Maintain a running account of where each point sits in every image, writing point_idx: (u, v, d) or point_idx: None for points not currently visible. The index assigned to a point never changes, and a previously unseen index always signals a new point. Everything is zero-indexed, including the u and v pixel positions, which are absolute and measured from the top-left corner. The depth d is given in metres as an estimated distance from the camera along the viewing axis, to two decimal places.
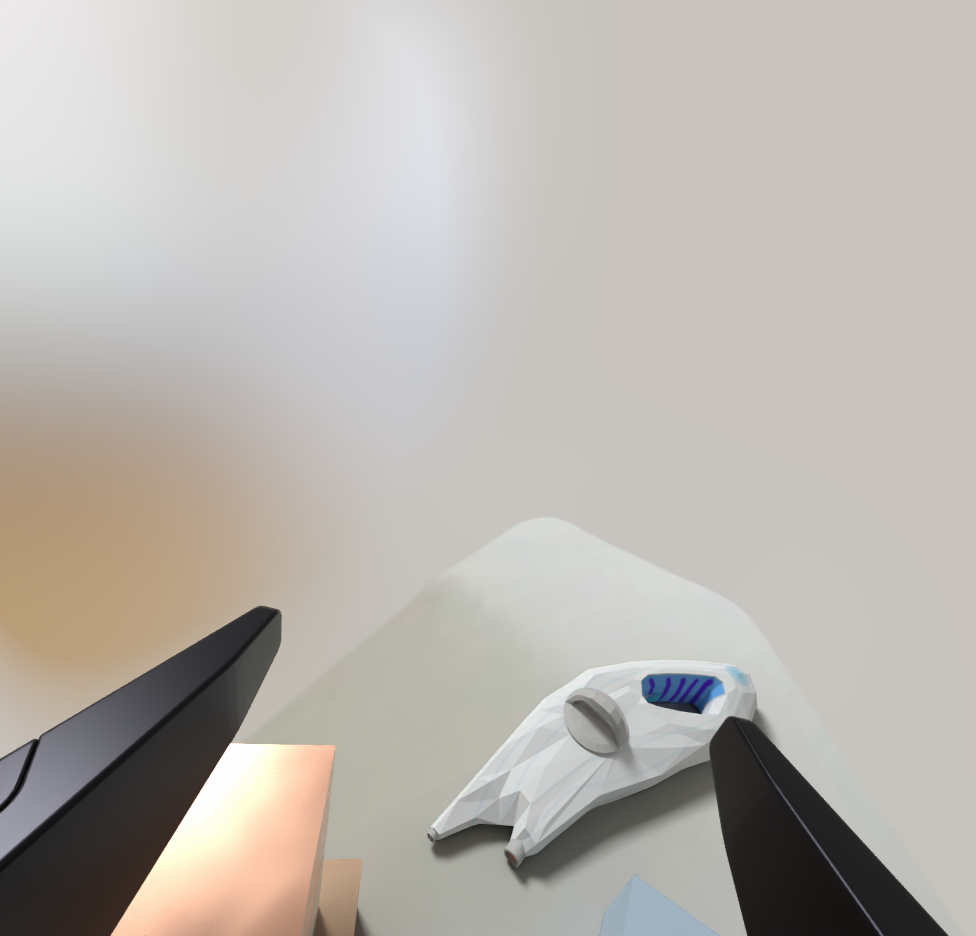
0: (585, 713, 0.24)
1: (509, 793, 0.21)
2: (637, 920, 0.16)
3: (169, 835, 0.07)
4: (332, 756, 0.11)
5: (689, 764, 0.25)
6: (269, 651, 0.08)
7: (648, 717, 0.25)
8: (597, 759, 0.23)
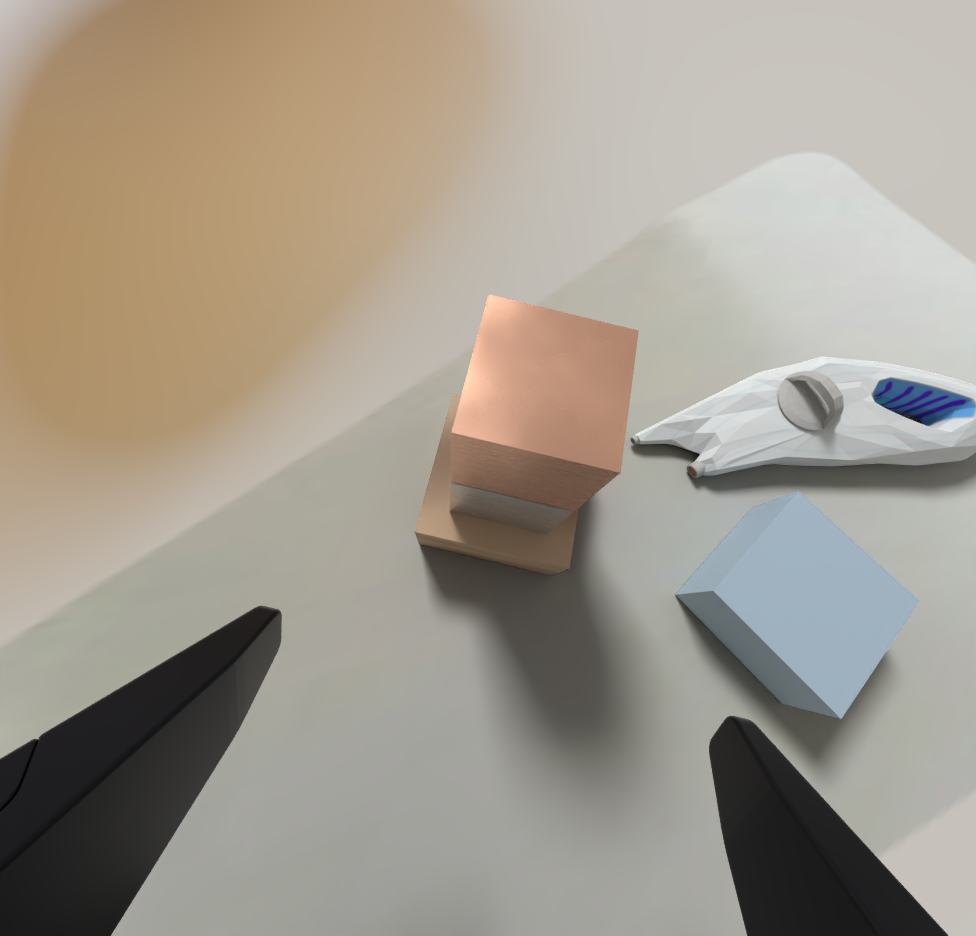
0: (802, 393, 0.25)
1: (704, 432, 0.25)
2: (789, 514, 0.21)
3: (169, 835, 0.07)
4: (636, 337, 0.13)
5: (885, 461, 0.26)
6: (269, 651, 0.08)
7: (867, 414, 0.25)
8: (796, 431, 0.25)
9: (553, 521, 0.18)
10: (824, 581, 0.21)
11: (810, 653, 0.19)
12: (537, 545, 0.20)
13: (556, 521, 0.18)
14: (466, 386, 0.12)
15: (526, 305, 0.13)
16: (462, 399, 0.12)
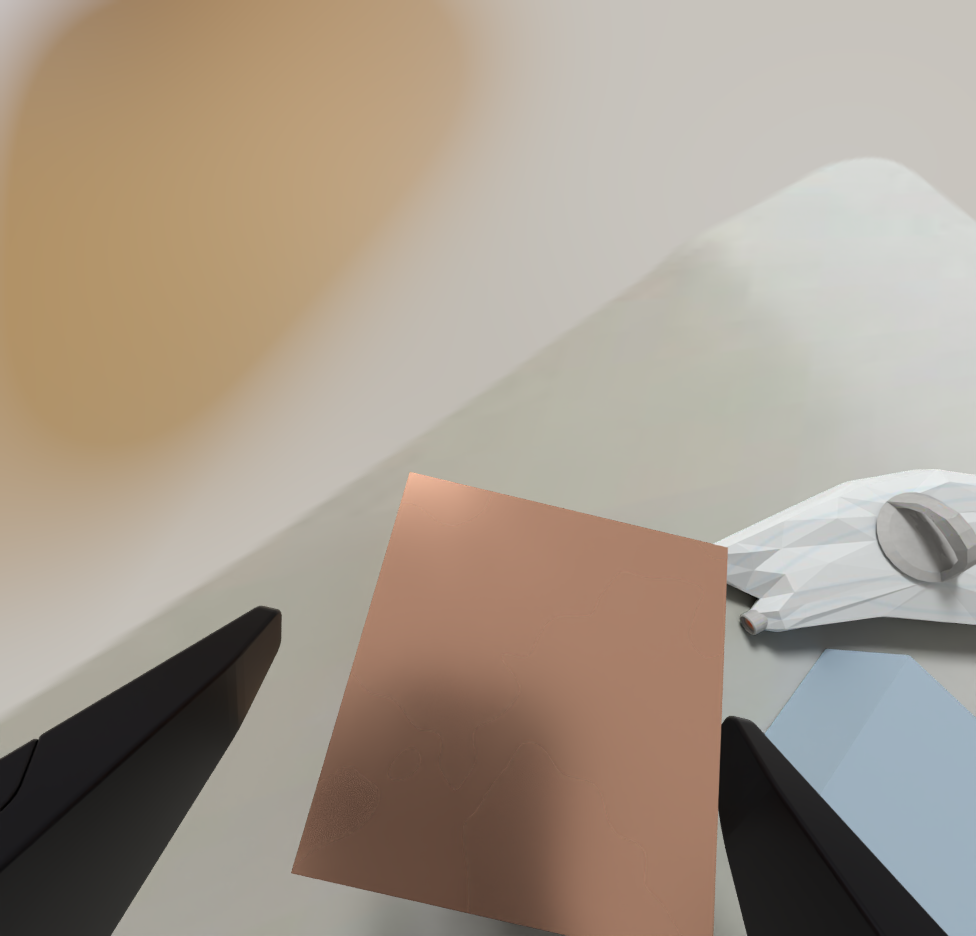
0: (913, 526, 0.17)
1: (769, 571, 0.18)
2: (899, 695, 0.15)
3: (169, 835, 0.07)
4: (724, 564, 0.06)
5: None
6: (269, 651, 0.08)
7: None
8: (902, 581, 0.17)
9: None
10: (960, 807, 0.14)
11: None
12: None
13: None
14: (340, 725, 0.05)
15: (490, 493, 0.06)
16: (328, 763, 0.05)
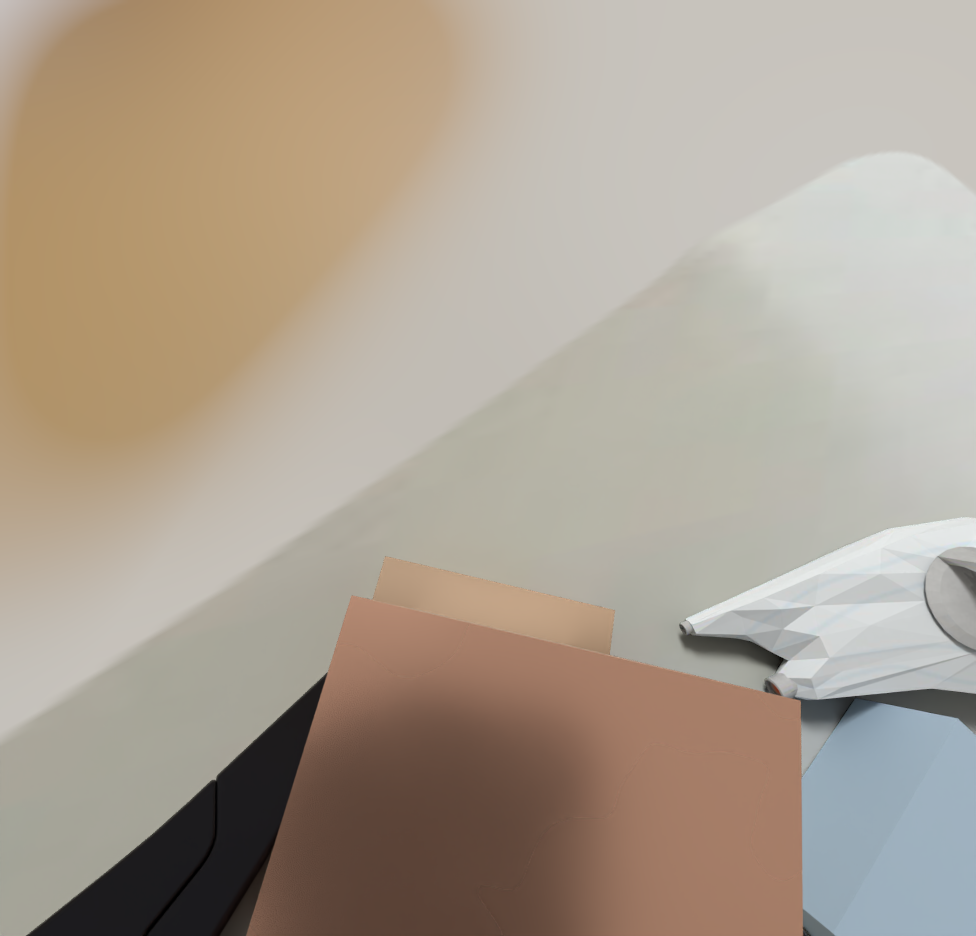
0: (968, 587, 0.15)
1: (801, 631, 0.16)
2: (948, 766, 0.13)
3: None
4: (796, 726, 0.04)
5: None
6: None
7: None
8: (953, 649, 0.15)
9: None
10: None
11: None
12: None
13: None
14: None
15: (466, 622, 0.04)
16: None
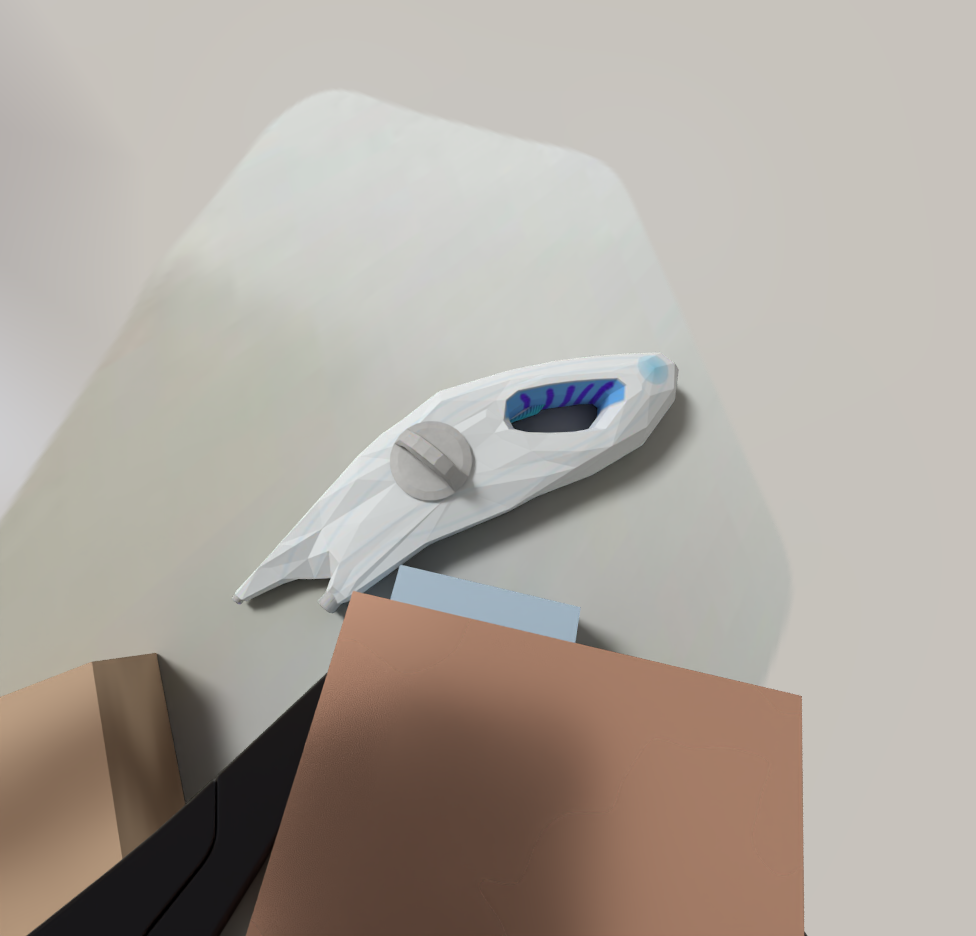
0: (415, 457, 0.19)
1: (318, 554, 0.19)
2: None
3: None
4: (797, 721, 0.04)
5: (555, 487, 0.21)
6: None
7: (505, 447, 0.20)
8: (426, 506, 0.19)
9: None
10: None
11: None
12: (66, 901, 0.13)
13: None
14: None
15: None
16: None
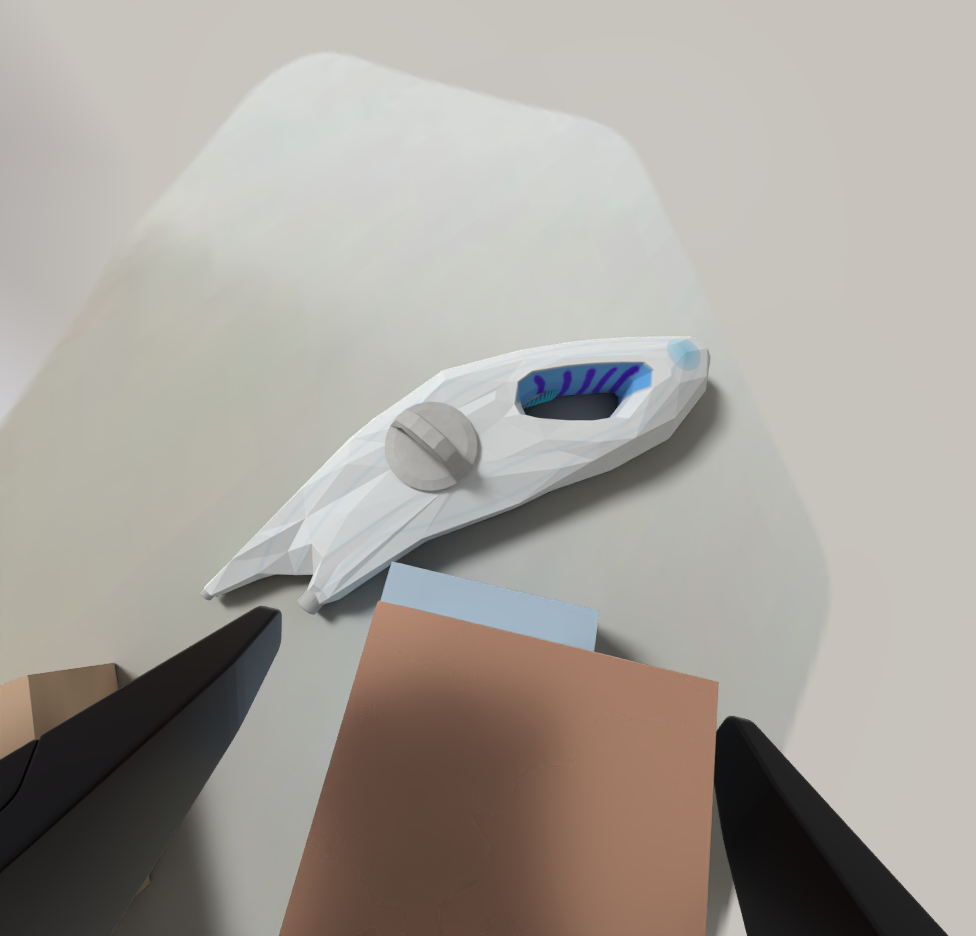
0: (414, 441, 0.17)
1: (299, 546, 0.17)
2: None
3: (169, 835, 0.07)
4: (714, 701, 0.06)
5: (570, 482, 0.19)
6: (269, 651, 0.08)
7: (515, 434, 0.18)
8: (424, 497, 0.17)
9: None
10: None
11: None
12: None
13: None
14: (295, 903, 0.05)
15: (464, 621, 0.06)
16: None
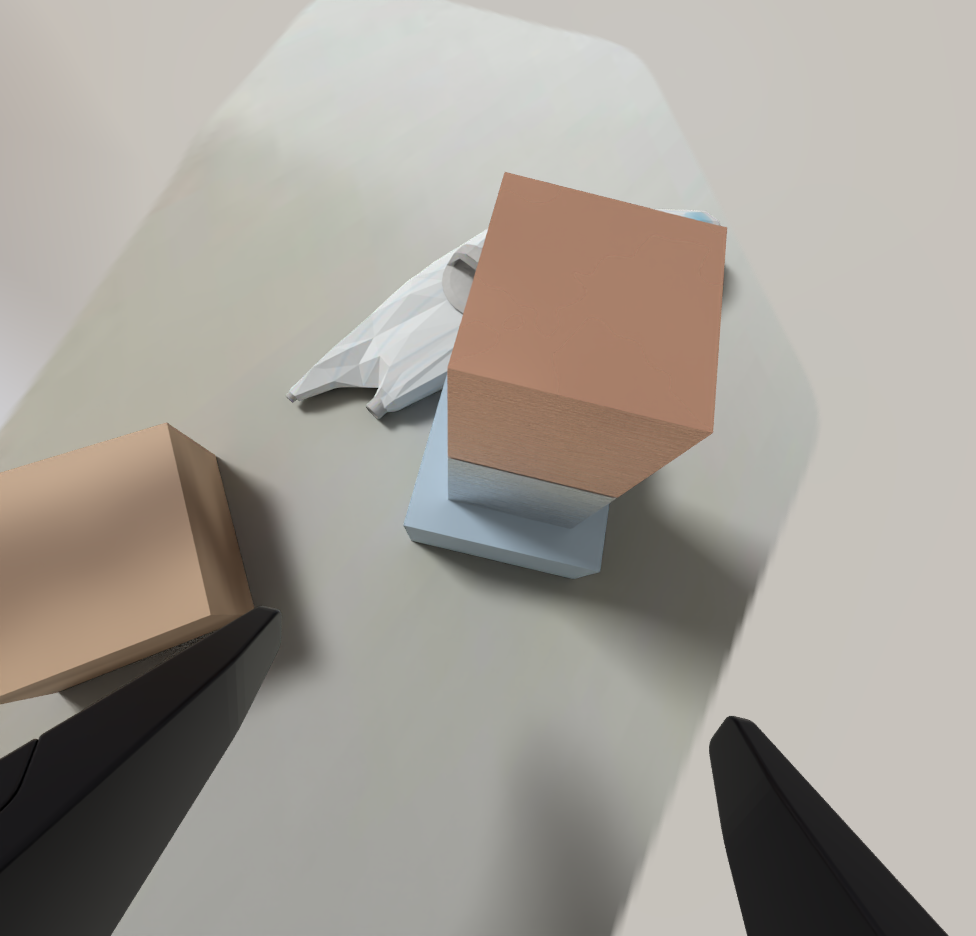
0: (467, 275, 0.20)
1: (368, 359, 0.20)
2: None
3: (169, 835, 0.07)
4: (724, 237, 0.09)
5: None
6: (269, 651, 0.08)
7: None
8: None
9: (583, 512, 0.14)
10: None
11: (539, 523, 0.16)
12: (152, 615, 0.14)
13: (587, 512, 0.13)
14: (471, 299, 0.08)
15: (560, 190, 0.09)
16: (465, 319, 0.08)
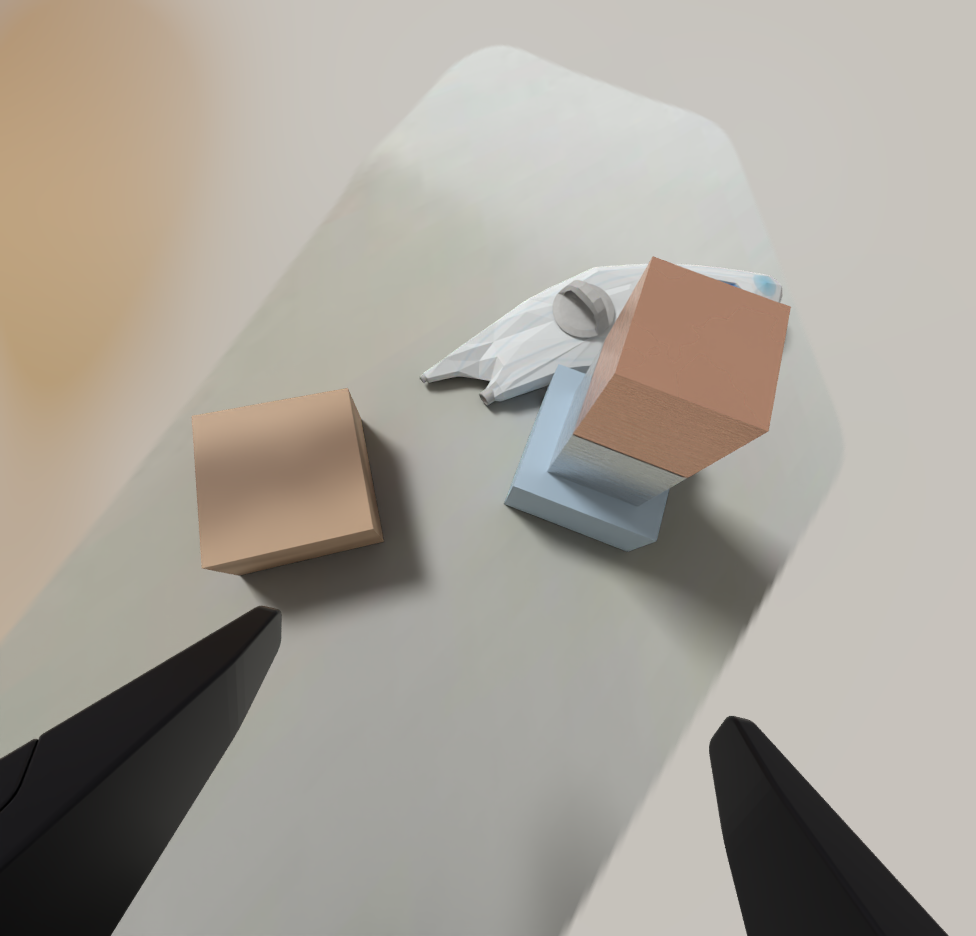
0: (573, 303, 0.25)
1: (488, 358, 0.25)
2: (557, 388, 0.22)
3: (169, 835, 0.07)
4: (788, 313, 0.14)
5: None
6: (269, 651, 0.08)
7: None
8: (574, 341, 0.25)
9: (655, 490, 0.18)
10: None
11: (613, 499, 0.21)
12: (333, 522, 0.19)
13: (658, 490, 0.18)
14: (629, 334, 0.13)
15: (686, 271, 0.14)
16: (625, 345, 0.13)
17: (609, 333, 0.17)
